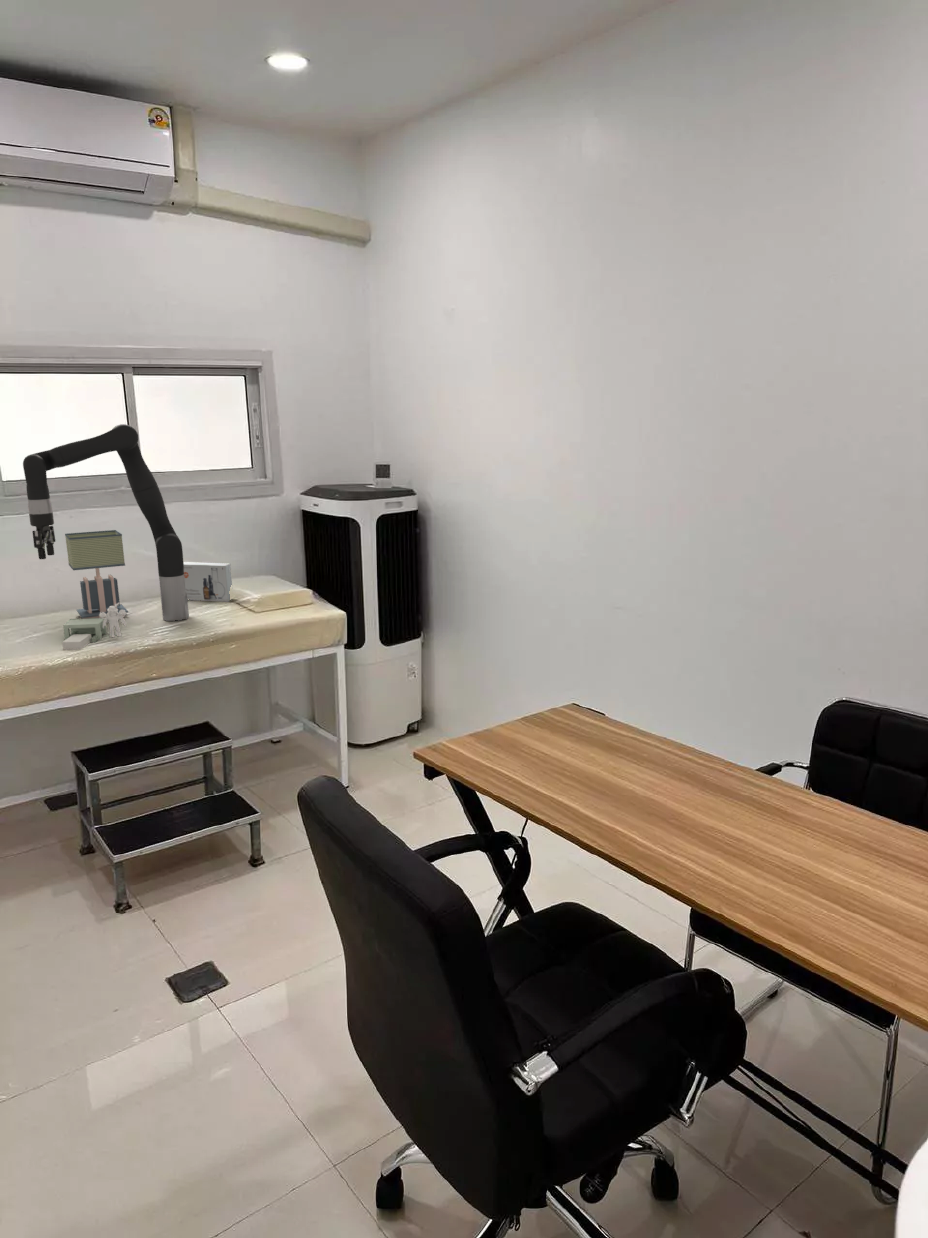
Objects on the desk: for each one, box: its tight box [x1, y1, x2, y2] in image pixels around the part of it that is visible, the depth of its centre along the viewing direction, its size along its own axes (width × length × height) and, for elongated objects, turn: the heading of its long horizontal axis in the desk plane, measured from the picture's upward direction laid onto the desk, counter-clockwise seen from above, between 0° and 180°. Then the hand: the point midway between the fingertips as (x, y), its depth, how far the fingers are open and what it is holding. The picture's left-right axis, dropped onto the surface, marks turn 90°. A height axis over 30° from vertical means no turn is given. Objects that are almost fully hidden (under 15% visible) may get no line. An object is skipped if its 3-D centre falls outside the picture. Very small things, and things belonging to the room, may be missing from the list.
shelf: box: [62, 618, 108, 643], centre depth 292 cm, size 12×13×6 cm
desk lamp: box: [64, 529, 129, 619], centre depth 320 cm, size 18×14×33 cm
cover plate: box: [61, 634, 93, 650], centre depth 284 cm, size 6×10×3 cm, turn 5°
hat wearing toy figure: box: [99, 601, 127, 638], centre depth 294 cm, size 9×4×12 cm, turn 122°
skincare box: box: [183, 561, 233, 603], centre depth 350 cm, size 21×6×16 cm, turn 81°
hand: (46, 557), depth 295 cm, fingers open, 8 cm apart
